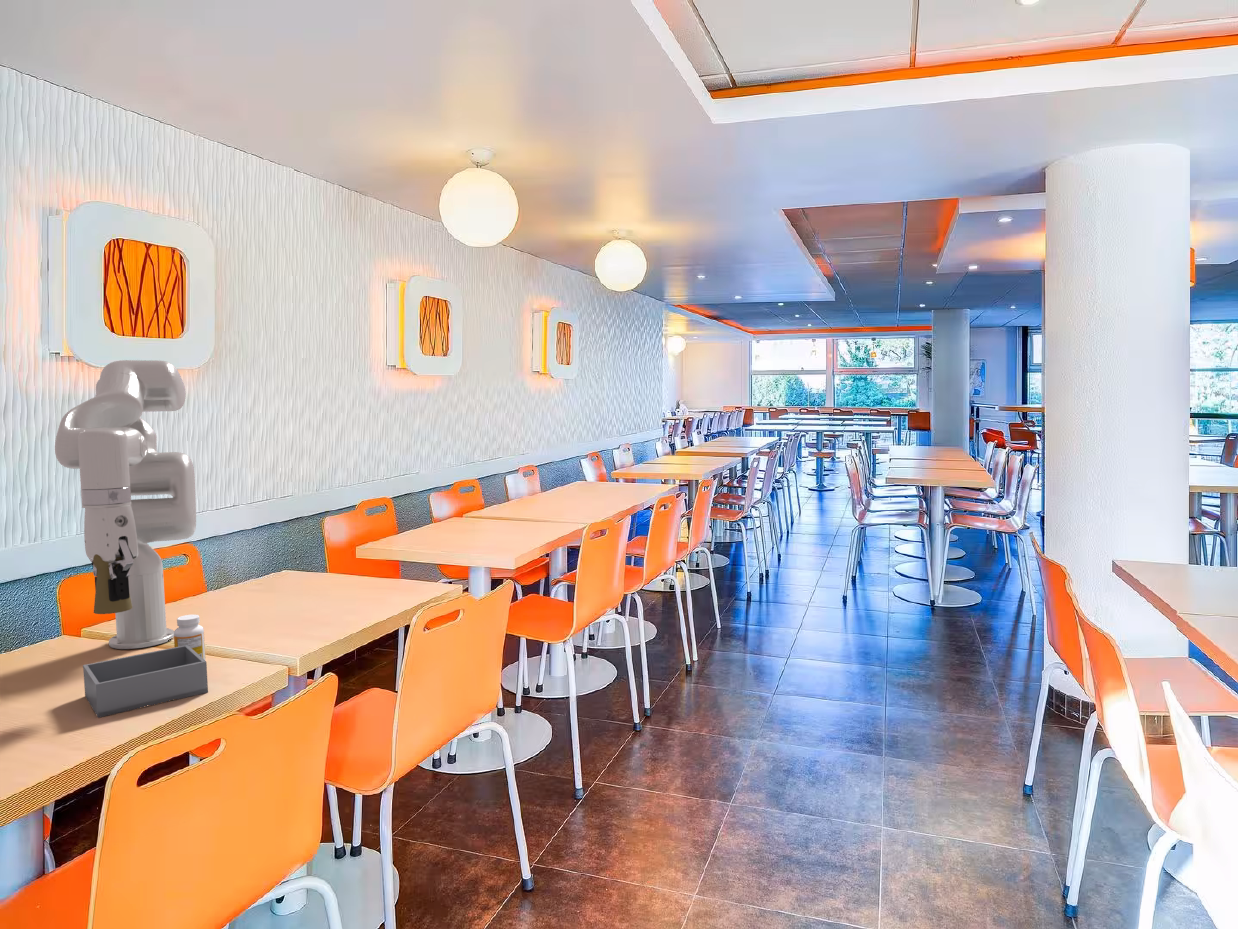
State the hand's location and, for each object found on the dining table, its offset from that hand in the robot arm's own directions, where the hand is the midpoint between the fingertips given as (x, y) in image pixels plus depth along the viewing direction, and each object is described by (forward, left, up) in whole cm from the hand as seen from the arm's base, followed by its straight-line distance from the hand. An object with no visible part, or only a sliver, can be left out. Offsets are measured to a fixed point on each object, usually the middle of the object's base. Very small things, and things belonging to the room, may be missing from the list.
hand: (112, 597), depth 146 cm
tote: (+4, +4, -18) cm, 19 cm away
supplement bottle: (-9, +14, -18) cm, 25 cm away
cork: (0, 0, -3) cm, 2 cm away
